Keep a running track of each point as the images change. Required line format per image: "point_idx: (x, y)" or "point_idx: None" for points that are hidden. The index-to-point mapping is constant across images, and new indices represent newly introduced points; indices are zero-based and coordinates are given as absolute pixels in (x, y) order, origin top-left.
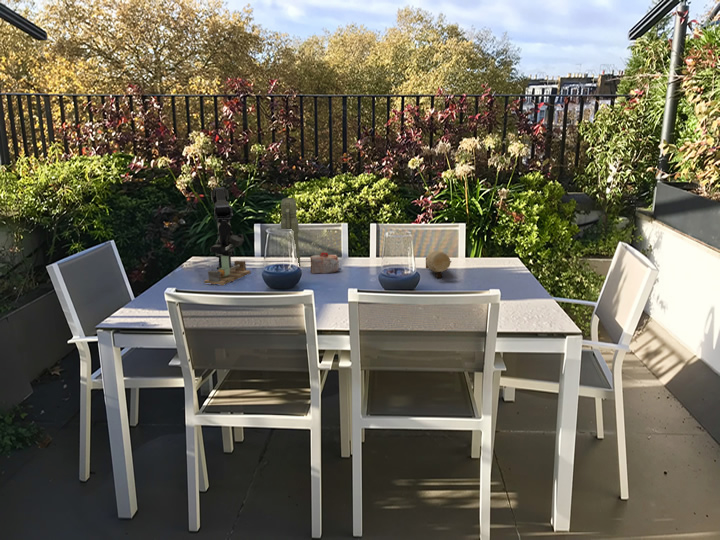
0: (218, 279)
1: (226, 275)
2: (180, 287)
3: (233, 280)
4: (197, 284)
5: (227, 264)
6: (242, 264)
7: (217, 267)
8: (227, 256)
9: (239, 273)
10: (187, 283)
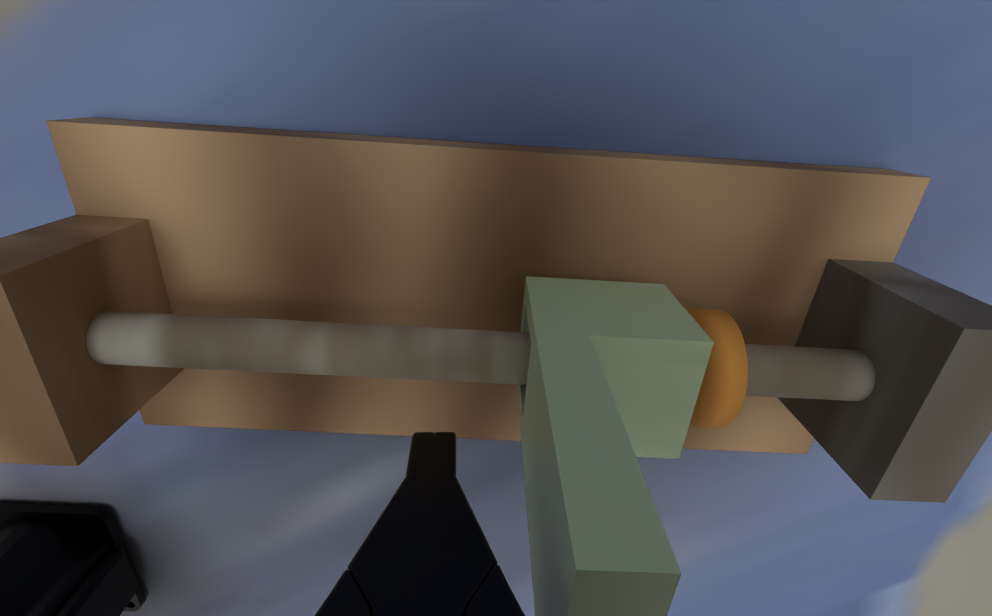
0: (906, 275)
1: (629, 284)
2: (905, 556)
3: (613, 151)
4: (798, 481)
5: (604, 385)
6: (58, 274)
7: (126, 608)
8: (654, 564)
9: (325, 203)
10: (751, 570)
